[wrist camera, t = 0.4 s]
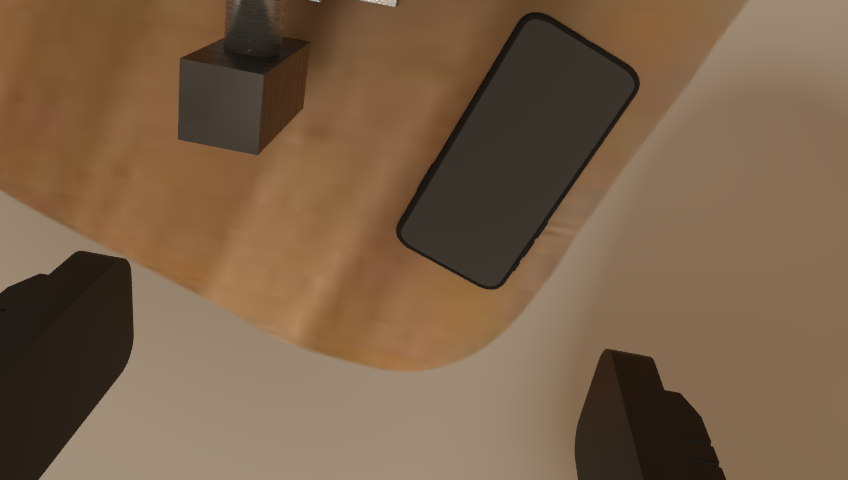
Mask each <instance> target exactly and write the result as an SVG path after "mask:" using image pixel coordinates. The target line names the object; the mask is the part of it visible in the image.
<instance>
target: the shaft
mask: <svg viewBox="0 0 848 480" xmlns="http://www.w3.org/2000/svg"><path fill="white" fill-rule="evenodd" d="M284 9H285V0H226V11H225V30H224V38H223V39H221V40H219V41H217V42H214V43H212V44H210V45H208V46H206V47H204V48H201V49H199V50H197V51H195V52H193V53H191V54H188V55H186V56H184V57H182V58H180V82H179V122H178V139H179V140H184V141H189V142H194V143H199V144H204V145H209V146H214V147H219V148H224V149H229V150H234V151H239V152H245V153H250V154H255V155H258V154H259V153H260V152H261V151H262V150H263V149H264V148H265V147H266V146H267V145H268V144H269V143H270V142H271V141H272V140H273V139H274V138H275V137H276V136H277V135H278V134H279V133H280V132H281V130H282V129H283V128H284V127H285V126H286V125H287V124H288V123H289V122H290V121H291V120H292V119H293V118H294V117H295V116H296V115H297V114H298V113H299V112H300V111H301V110H302V109H303V105H304V95H305V86H306V76H307V66H308V57H309V47H310V42H306V41H301V40H296V39H291V38H286V37H282V33H283V21H284Z"/></svg>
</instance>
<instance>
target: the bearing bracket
mask: <svg viewBox="0 0 848 480" xmlns="http://www.w3.org/2000/svg"><path fill="white" fill-rule="evenodd" d="M310 1H315V2H322V1H324V0H310ZM362 1H367V2H372V3H377V4H383V5H388V6H393V7H396V6H397V5H398V1H399V0H362Z"/></svg>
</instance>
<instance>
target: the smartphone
mask: <svg viewBox="0 0 848 480" xmlns="http://www.w3.org/2000/svg"><path fill="white" fill-rule="evenodd" d="M639 85H640V83H639V77H638V75H637V73H636V72H635V71H634V69H633V68H632V67H630V66H629V65H628V64H626V63H625V62H623V61H621V60H620V59H618V58H617V57H615V56H613V55H612V54H610V53H609V52H607V51H605V50H604V49H602V48H601V47H599V46H597V45H596V44H594V43H591V42H590V41H588V40H586V39H585V38H584V37H583V36H581V35H580V34H578V33H576V32H575V31H573V30H571V29H570V28H568V27H567V26H565V25H563V24H562V23H560V22H558V21H557V20H555V19H554V18H552V17H550V16H548V15H546V14H543V13H529V14H527V15H525V16H524V17H523V18H521V20H520V21H519V22H518V24H517V25H516V27H515V29H514V30H513V32H512V34H511V35H510V37H509V39H508V40H507V42H506V44H505V45H504V47H503V49H502V50H501V52H500V54H499V55H498V57H497V59H496V60H495V62H494V64H493V65H492V67H491V69H490V70H489V72H488V74H487V75H486V77H485V79H484V80H483V82H482V84H481V85H480V87H479V89H478V90H477V92H476V94H475V96H474V97H473V99H472V101H471V102H470V104H469V106H468V107H467V109H466V111H465V112H464V114H463V116H462V117H461V119H460V121H459V122H458V124H457V126H456V127H455V129H454V131H453V132H452V134H451V136H450V137H449V139H448V141H447V142H446V144H445V146H444V147H443V149H442V151H441V152H440V154H439V156H438V157H437V159H436V161H435V162H434V164H432V165H431V167H430V169H429V170H428V172H427V174H426V175H425V177H424V179H423V180H422V182H421V184H420V186H419V187H418V189H417V193H416V194H415V196H414V198H413V199H412V201H411V203H410V204H409V206H408V208H407V210H406V211H405V213H404V215H403V216H402V218H401V220H400V221H399V223H398V226H397V231H396V232H397V236H398V238H399V240H400V241H401V242H402V243H403V244H404V245H405V246H406V247H407V248H409V249H411V250H413V251H415V252H416V253H418V254H420V255H422V256H424V257H426V258H427V259H429V260H431V261H433V262H435V263H437V264H439V265H440V266H442V267H444V268H446V269H448V270H449V271H451V272H453V273H455V274H457V275H459V276H460V277H462V278H464V279H466V280H468V281H470V282H471V283H473V284H475V285H477V286H479V287H481V288H484V289H497V288H499V287H501V286H502V285H503V284H504V283H505V282H506V280H507V279H508V278H509V276H510V275H511V273H512V272H513V271H515V269H516V268H517V267H518V265H519V263H520V260H521V259H522V258H523V257H525V255H526V254H527V252H528V251H529V249H530V248H531V247H532V245H533V244H534V240H535V239H536V238H538V237H539V235H540V234H541V232H542V231H543V229H544V228H545V227H546V225H547V223H548V220H549V219H550V217H551V216H552V215H553V213H554V212H555V210H556V209H557V207H558V206H559V205H560V203H561V202H562V200H563V199H564V197H565V196H566V194H567V193H568V192H569V190H570V189H571V187H572V186H573V184H574V183H575V182H576V180H577V179H578V177H579V176H580V174H581V173H582V171H583V170H584V169H585V167H586V166H587V164H588V163H589V161H590V160H591V159H592V157H593V156H594V154H595V153H596V151H597V150H598V148H599V147H600V146H601V144H602V143H603V141H604V140H605V138H606V137H607V136H608V134H609V133H610V131H611V130H612V128H613V127H614V125H615V124H616V123H617V121H618V120H619V118H620V117H621V115H622V114H623V113H624V111H625V110H626V108H627V107H628V105H629V104H630V102H631V101H632V100H633V98H634V97H635V95H636V94H637V92H638V89H639Z"/></svg>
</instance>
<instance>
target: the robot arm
mask: <svg viewBox="0 0 848 480" xmlns="http://www.w3.org/2000/svg"><path fill="white" fill-rule="evenodd" d="M133 334H134V332H133V305H132V280H131V267H130V264H129V262H128V261H127V260H126V259H124V258H119V257H113V256H107V255H102V254H97V253H91V252H85V251H78V252H75V253H74V254H73V255H71V256H70V257H69V258H68V259H67V260H66V261H64V262H63V263H62V264H61V265H60V266H59V267H58V268H56V269H55V270H54V271H53V272H52V273H50V274H49V275H46V274H38V275H36V276H33V277H31V278H28V279H26V280H24V281H21V282H19V283H17V284H14V285H12V286H9V287H8V288H6V289H5V290H4V291H3V292H1V293H0V480H38V479H39V478H40V477H41V476H42V474H43V473H44V472H45V471H46V469H47V468H48V467H49V465H50V464H51V463H52V462H53V460H54V459H55V458H56V456H57V455H58V454H59V453H60V451H61V450H62V449H63V448H64V446H65V445H66V444H67V442H68V441H69V440H70V438H71V437H72V436H73V435H74V433H75V432H76V431H77V429H78V428H79V427H80V426H81V424H82V423H83V422H84V421H85V419H86V418H87V416H88V415H89V414H90V413H91V412H92V410H93V409H94V408H95V406H96V405H97V404H98V402H99V401H100V400H101V399H102V397H103V396H104V395H105V394H106V392H107V391H108V390H109V388H110V387H111V386H112V385H113V383H114V382H115V381H116V379H117V378H118V377H119V376H120V374H121V373H122V372H123V370H124V368H125V366H126V364H127V362H128V360H129V357H130V354H131V350H132V345H133V338H134V337H133V336H134V335H133ZM710 444H711V440H710V438H709V436H708V433H707V430H706V428H705V425H704V423H703V420H702V418H701V416H700V415H699V414H698V413H697V412H696V410H695V409H694V408H693V407H692V406H691V405H690V404H689V403H688V401H687V400H686V399H685V398H684V397H683V396H682V395H681V394H680V393H677V392H671V391H666V390H664V388H663V385H662V382H661V379H660V376H659V374H658V370H657V368H656V365H655V362H654V360H653V358H651V357H649V356H643V355H638V354H633V353H627V352H622V351H616V350H610V349H605V350H604V351H603V353H602V354H601V356H600V359H599V362H598V365H597V368H596V370H595V374H594V376H593V379H592V382H591V385H590V388H589V391H588V394H587V397H586V400H585V403H584V406H583V409H582V412H581V415H580V418H579V421H578V425H577V430H576V437H575V461H576V468H577V475H578V480H726V478H725V476H724V473H723V470H722V468H720V467H719V460H718V458H717V456H716V453H715V450H714V448H713V447H712V446H711V445H710Z"/></svg>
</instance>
